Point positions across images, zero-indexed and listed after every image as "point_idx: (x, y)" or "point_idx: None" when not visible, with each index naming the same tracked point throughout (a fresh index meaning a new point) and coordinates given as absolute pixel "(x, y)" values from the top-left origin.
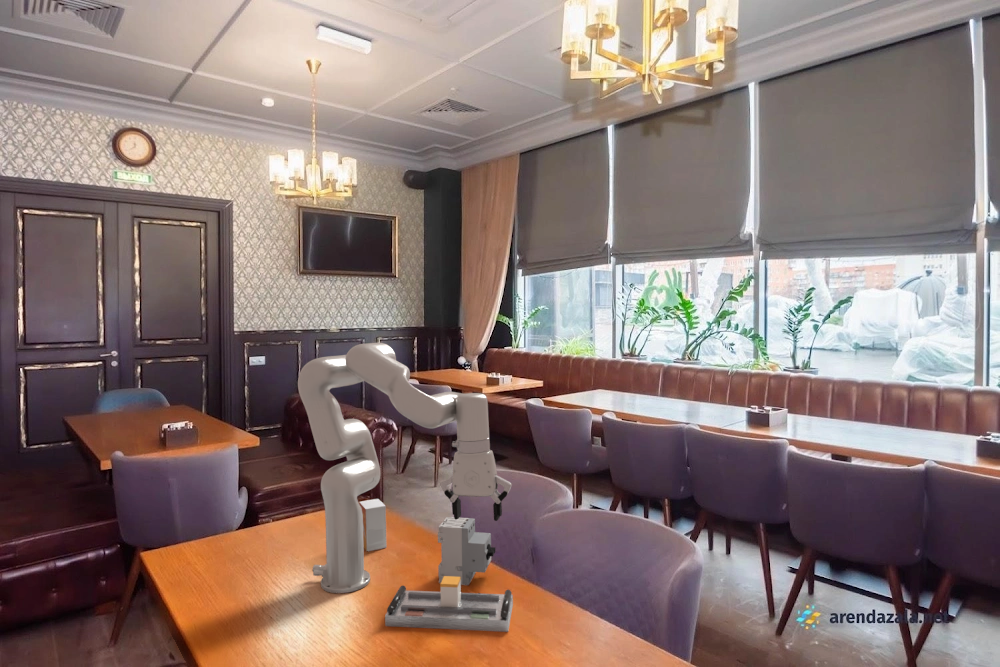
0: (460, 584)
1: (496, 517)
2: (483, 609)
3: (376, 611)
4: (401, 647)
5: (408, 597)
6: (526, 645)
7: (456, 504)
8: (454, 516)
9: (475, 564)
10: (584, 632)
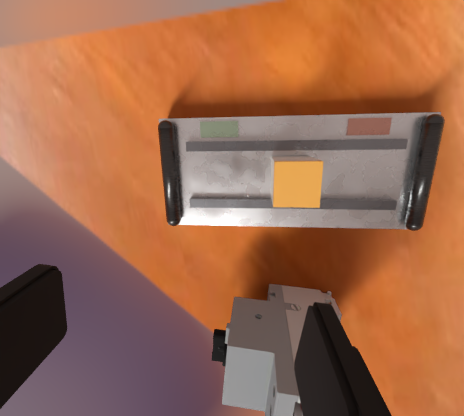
0: (272, 199)
1: (23, 273)
2: (212, 145)
3: (453, 173)
4: (375, 30)
5: (392, 198)
6: (125, 75)
7: (350, 406)
8: (335, 315)
9: (254, 310)
10: (37, 133)
